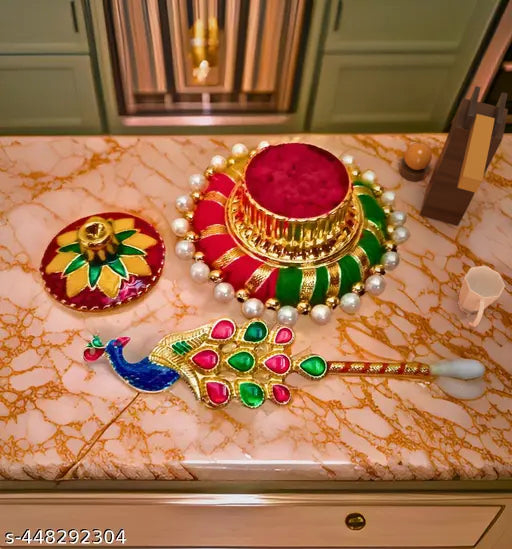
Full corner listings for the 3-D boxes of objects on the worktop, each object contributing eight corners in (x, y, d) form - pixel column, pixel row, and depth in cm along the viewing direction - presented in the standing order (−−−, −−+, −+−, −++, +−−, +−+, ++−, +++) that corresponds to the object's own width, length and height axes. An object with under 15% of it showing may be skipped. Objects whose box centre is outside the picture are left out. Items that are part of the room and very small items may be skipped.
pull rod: (476, 193, 90) (482, 180, 88) (457, 187, 91) (462, 175, 89) (488, 130, 98) (495, 118, 96) (471, 126, 99) (476, 113, 96)
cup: (489, 293, 109) (505, 269, 102) (487, 339, 104) (505, 317, 97) (451, 285, 110) (465, 261, 103) (448, 330, 104) (462, 308, 98)
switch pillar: (457, 226, 118) (509, 125, 95) (419, 215, 119) (461, 113, 96) (464, 198, 122) (514, 95, 99) (426, 188, 123) (468, 84, 101)
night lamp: (416, 158, 128) (425, 133, 122) (432, 176, 125) (441, 152, 119) (393, 166, 126) (401, 141, 120) (408, 184, 124) (417, 160, 117)
